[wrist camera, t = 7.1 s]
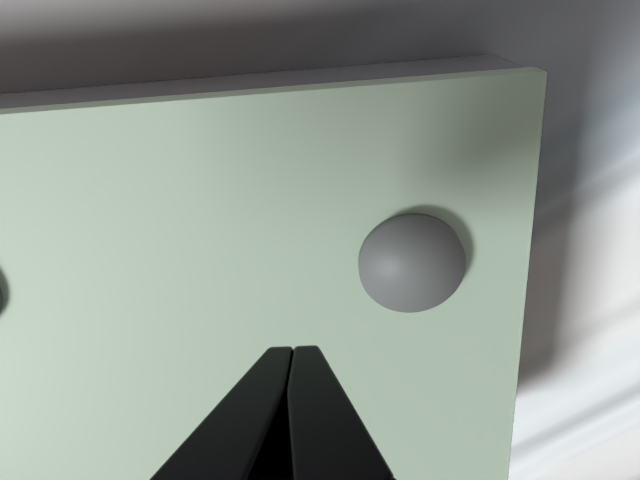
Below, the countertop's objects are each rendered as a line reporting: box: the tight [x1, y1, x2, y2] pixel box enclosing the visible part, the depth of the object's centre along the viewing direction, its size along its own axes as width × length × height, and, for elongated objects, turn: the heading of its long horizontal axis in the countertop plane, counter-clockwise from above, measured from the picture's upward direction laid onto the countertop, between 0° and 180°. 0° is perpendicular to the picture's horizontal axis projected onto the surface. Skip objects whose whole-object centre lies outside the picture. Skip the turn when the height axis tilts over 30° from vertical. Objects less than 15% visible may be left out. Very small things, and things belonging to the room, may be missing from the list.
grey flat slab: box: [0, 54, 522, 109], centre depth 15 cm, size 12×16×2 cm
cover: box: [0, 67, 548, 480], centre depth 13 cm, size 12×16×1 cm
